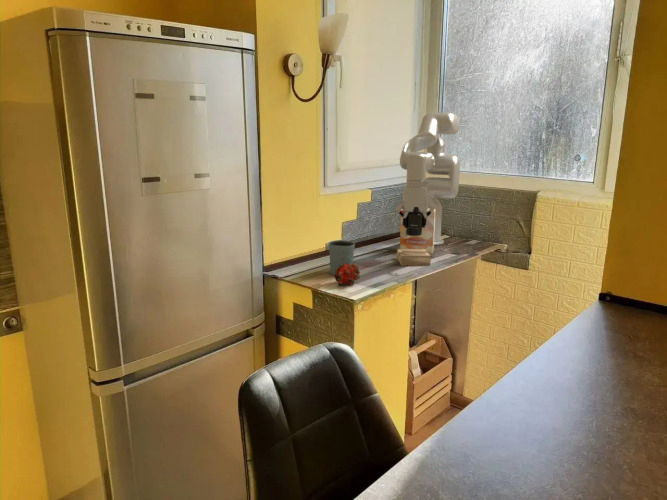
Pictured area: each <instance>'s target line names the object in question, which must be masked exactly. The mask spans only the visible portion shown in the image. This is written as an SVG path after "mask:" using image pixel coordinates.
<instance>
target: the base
mask: <svg viewBox="0 0 667 500" xmlns="http://www.w3.org/2000/svg"><path fill="white" fill-rule="evenodd" d="M396 259H397V261H398V262H399V264H400V266H407V265H408V266H431V260H432V258H431V254H429V253H428V252H427V251H426V250H425V249H400V248H397V249H396Z"/></svg>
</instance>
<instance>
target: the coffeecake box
mask: <svg viewBox="0 0 667 500" xmlns="http://www.w3.org/2000/svg"><path fill="white" fill-rule="evenodd" d="M435 210H436V209H434V210H433V212H431V214H430V215H429V216H428V217H427V218H426V225H425V228H423V227H422V235H420V236H410V235H407V234H406V228H405V227H404V226H403V217H402V216H401V215H400V228H399V229H400V232H399V233H400V234H399V235H400V236H399V249H425V250H426V251H427V252H428V253H429V254H430V255H431V254H433V255H434V251H435V245H434V232H435ZM400 211H401V212H402V213H404V210H403V209H402V208H401V209H400ZM427 211H429V209H428V210H427ZM427 211H425V212H427ZM421 213H422V212H421Z"/></svg>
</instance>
